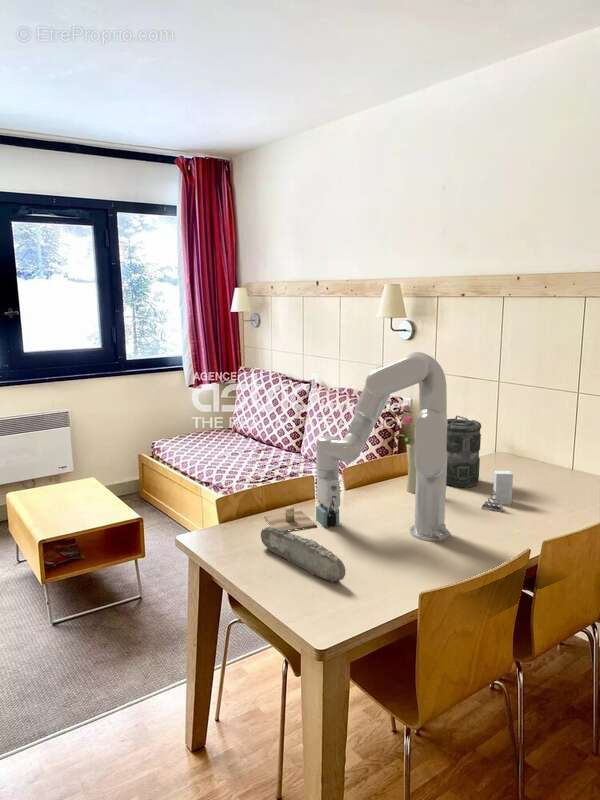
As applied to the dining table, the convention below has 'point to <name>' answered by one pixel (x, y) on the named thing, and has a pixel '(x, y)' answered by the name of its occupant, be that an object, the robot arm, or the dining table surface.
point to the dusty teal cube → (324, 515)
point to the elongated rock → (304, 553)
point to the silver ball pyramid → (491, 507)
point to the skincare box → (503, 486)
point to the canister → (463, 452)
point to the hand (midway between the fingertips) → (327, 522)
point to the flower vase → (410, 454)
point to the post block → (290, 520)
